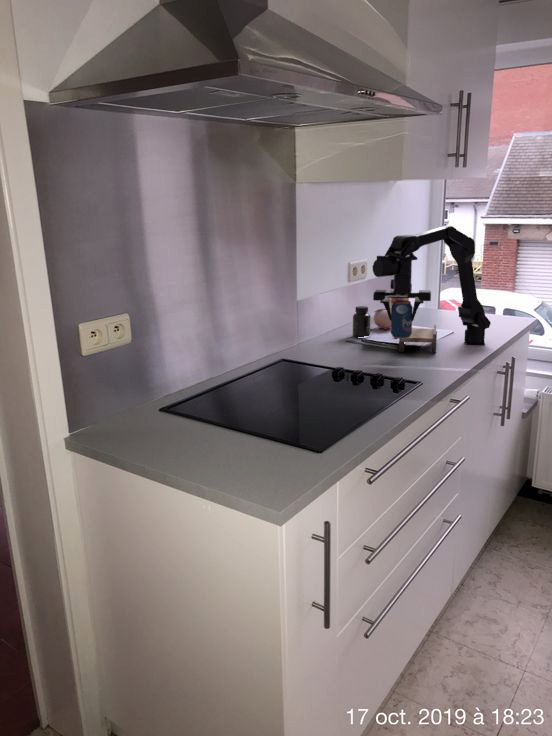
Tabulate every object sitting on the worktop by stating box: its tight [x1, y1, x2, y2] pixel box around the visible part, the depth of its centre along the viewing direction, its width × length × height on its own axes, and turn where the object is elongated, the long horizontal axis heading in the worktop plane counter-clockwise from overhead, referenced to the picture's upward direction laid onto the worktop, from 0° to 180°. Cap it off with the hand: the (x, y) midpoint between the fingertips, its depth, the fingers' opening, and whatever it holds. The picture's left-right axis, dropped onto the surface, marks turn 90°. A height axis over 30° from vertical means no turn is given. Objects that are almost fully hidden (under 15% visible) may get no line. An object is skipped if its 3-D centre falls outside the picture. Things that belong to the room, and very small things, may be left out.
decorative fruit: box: [373, 307, 391, 329], centre depth 251 cm, size 9×8×10 cm
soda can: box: [390, 300, 413, 339], centre depth 209 cm, size 7×7×12 cm
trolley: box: [398, 324, 438, 354], centre depth 222 cm, size 13×17×7 cm
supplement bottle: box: [352, 305, 371, 339], centre depth 240 cm, size 7×7×12 cm
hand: (401, 320), depth 209 cm, fingers closed on soda can, 7 cm apart
